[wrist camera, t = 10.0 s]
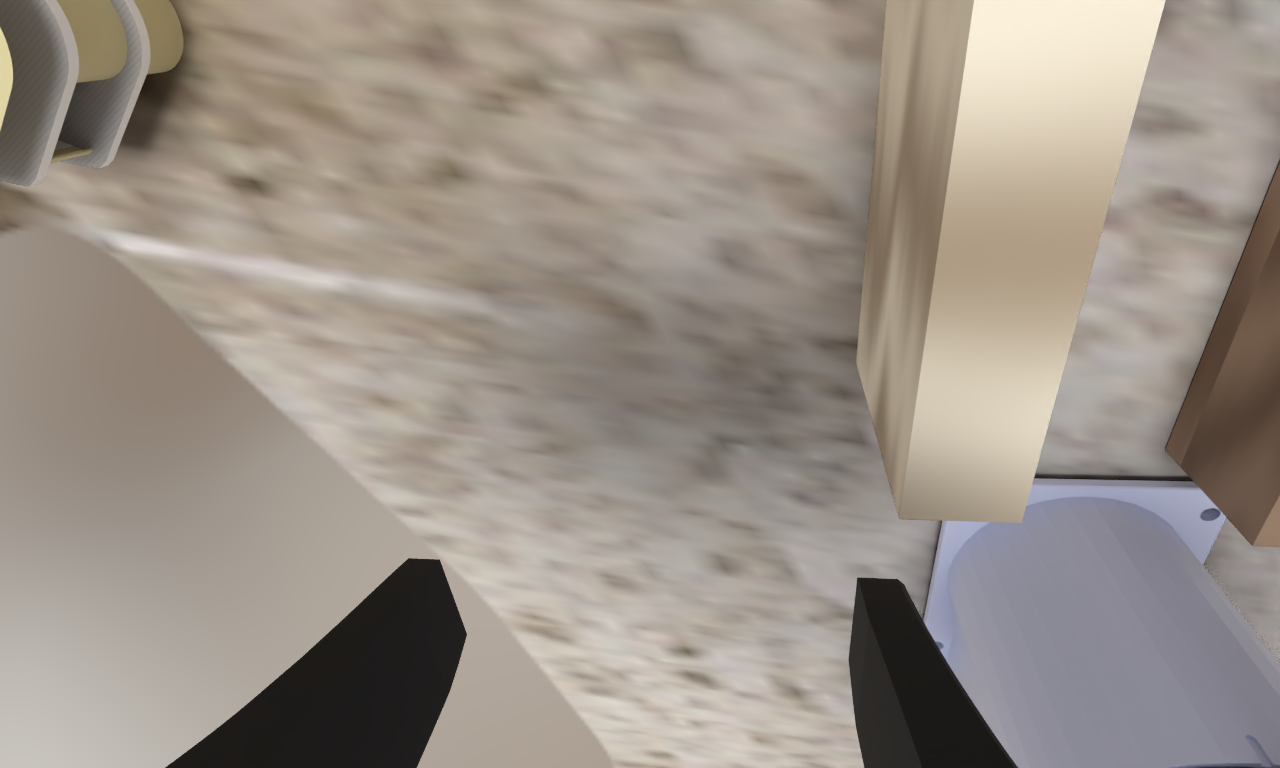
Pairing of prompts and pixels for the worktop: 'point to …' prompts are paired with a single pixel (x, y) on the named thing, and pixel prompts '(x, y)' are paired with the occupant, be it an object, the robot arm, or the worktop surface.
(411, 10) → the worktop surface
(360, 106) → the worktop surface
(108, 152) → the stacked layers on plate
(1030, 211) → the birch sheet
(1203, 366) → the rack
